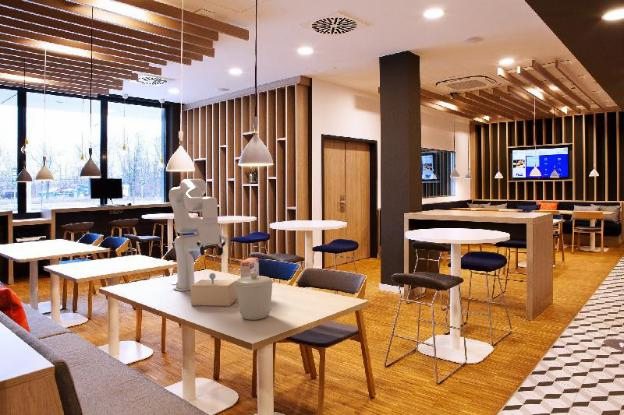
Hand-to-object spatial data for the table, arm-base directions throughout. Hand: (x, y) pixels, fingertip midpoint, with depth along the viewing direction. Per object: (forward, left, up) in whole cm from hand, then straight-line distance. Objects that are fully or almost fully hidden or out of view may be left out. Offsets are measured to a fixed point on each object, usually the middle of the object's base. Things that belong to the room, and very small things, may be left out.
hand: (211, 255), depth 230 cm
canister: (+28, -19, -26) cm, 43 cm away
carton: (0, +2, -25) cm, 25 cm away
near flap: (0, -1, -15) cm, 15 cm away
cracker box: (+16, +13, -26) cm, 33 cm away
